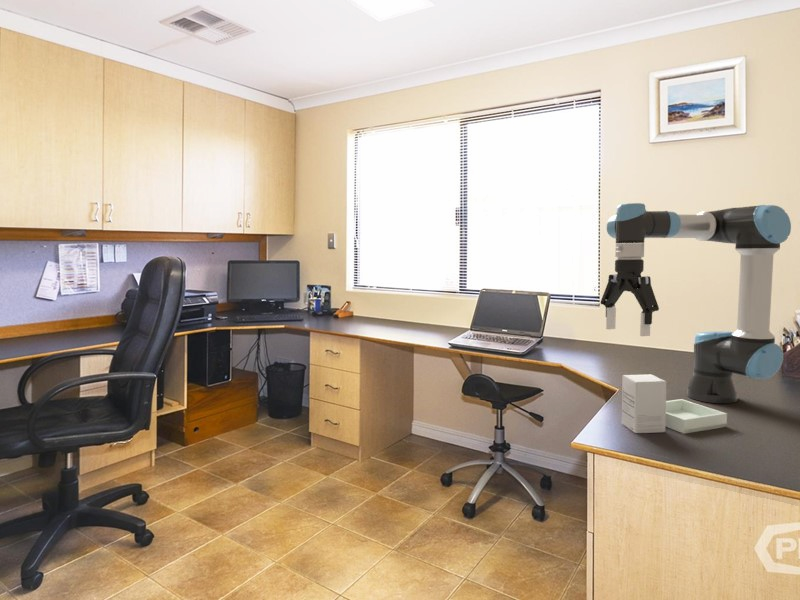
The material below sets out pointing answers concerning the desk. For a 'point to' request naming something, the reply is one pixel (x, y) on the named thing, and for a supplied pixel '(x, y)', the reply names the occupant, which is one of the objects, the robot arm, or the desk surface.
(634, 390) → the supplement box
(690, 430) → the tote
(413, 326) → the desk surface
